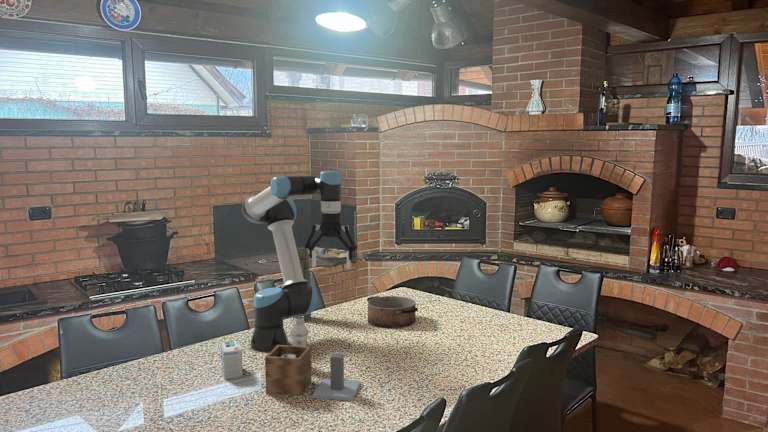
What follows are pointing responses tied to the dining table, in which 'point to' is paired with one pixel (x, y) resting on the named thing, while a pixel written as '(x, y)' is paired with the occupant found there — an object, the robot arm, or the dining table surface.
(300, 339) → the plastic bottle
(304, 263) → the thermos
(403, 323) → the cooking pot
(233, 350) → the light bulb box
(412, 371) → the dining table surface
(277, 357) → the crate
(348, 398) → the lid
